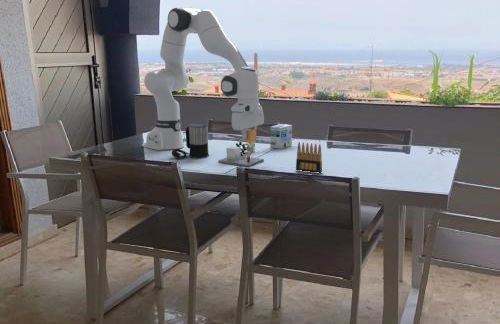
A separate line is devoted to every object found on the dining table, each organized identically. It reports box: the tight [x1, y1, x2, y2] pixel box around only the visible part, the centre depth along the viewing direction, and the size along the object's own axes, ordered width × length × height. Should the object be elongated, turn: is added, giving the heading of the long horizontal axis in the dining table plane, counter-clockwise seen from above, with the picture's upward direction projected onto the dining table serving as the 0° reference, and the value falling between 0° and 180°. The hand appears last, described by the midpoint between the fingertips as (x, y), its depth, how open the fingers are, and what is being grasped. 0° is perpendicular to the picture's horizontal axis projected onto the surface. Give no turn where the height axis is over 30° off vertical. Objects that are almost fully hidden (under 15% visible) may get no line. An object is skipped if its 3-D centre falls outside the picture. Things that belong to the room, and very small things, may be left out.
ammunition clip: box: [295, 141, 323, 174], centre depth 189 cm, size 11×2×12 cm, turn 61°
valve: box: [235, 141, 256, 156], centre depth 224 cm, size 7×7×12 cm
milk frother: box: [171, 122, 210, 159], centre depth 217 cm, size 14×16×15 cm
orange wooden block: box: [241, 128, 257, 143], centre depth 202 cm, size 4×4×5 cm
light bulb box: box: [269, 123, 293, 150], centre depth 238 cm, size 11×7×11 cm, turn 143°
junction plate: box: [218, 145, 265, 168], centre depth 207 cm, size 16×12×6 cm
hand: (249, 137), depth 203 cm, fingers closed on orange wooden block, 4 cm apart
